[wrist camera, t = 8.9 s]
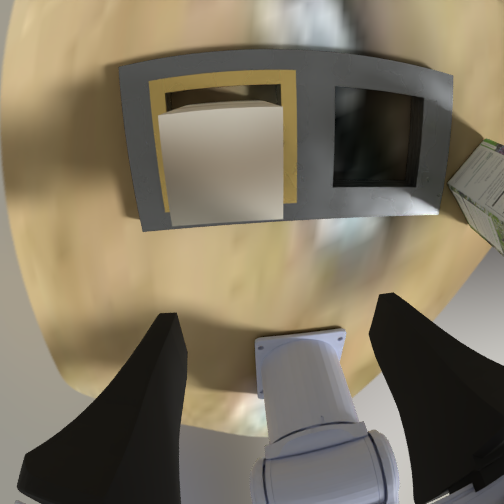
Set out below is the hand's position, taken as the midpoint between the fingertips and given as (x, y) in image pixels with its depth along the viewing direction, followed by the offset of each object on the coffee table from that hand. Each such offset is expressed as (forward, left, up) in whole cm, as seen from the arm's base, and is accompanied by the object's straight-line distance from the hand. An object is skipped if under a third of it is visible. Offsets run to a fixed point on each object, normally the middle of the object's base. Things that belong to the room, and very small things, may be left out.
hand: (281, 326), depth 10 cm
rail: (+5, -3, -10) cm, 12 cm away
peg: (+5, +2, -10) cm, 12 cm away
